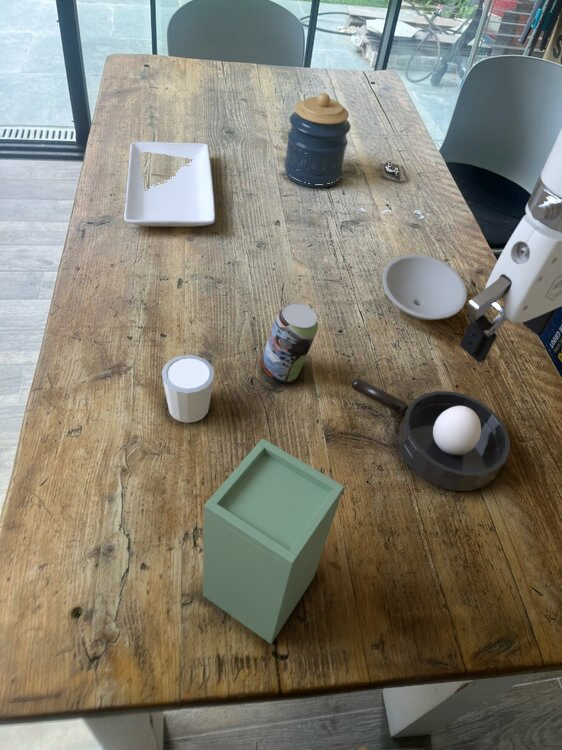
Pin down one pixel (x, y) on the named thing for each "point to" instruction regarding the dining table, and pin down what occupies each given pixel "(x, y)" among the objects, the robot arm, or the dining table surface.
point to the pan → (440, 465)
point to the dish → (424, 287)
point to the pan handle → (379, 396)
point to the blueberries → (392, 175)
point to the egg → (457, 430)
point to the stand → (266, 537)
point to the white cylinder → (188, 387)
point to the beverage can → (289, 342)
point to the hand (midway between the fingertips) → (501, 340)
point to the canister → (317, 141)
